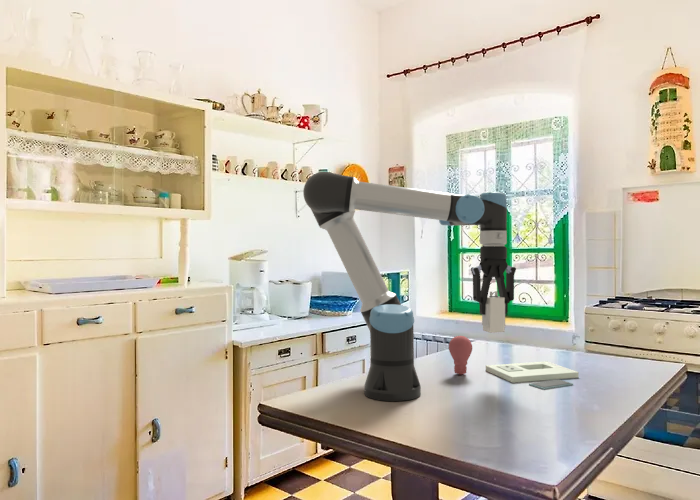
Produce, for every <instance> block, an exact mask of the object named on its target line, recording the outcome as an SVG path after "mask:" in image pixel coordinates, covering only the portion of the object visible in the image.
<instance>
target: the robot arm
mask: <svg viewBox="0 0 700 500" xmlns="http://www.w3.org/2000/svg"><path fill="white" fill-rule="evenodd" d="M303 199H304V201H305V203H306V205H307V206H308V207H309V208H310V210H311V212H312V215H313V216H314V219H315V220H316V223H317V225H318V227H319V228H320V229H322V230H325V231H327V233H328V236H329V238H330V239H331V243H332V244H333V246H334V248H335V251H336V252H337V254H338V257H339V259H340V260H341V262H342V265H343V266H344V269H345V271H346V272H347V275H348V276H349V279H350V281H351V283H352V285H353V288H354V289H355V291H356V293H357V295H358V297H359V300H360V301H361V307H360V310H359V311H360V314H361V316H362V318H363V320H364V321H365V323H366V326H367V327H368V330H369V334H370V335H369V336H370V337H369V338H370V342H369V344H370V366H369V370H368V373H367V376H366V379H365V382H364V386H363V387H364V388H363V389H364V390H363V391H364V395H365V397H367V398H369V399H372V400H375V401H383V402H402V401H411V400H414V399H417V398H419V397H420V396H421V394H422V390H421V389H422V388H421V384H420V380H419V377H418V374H417V371H416V368H415V357H414V356H415V353H414V352H415V348H414V347H415V346H414V344H415V343H414V342H415V341H414V333H415V332H414V324H415V318H414V311H413V309H411V308H410V307H409V306H406V305H402V303H401V302H400V299H399V298H398V296H397V293H395V292H392V291H390V290H389V289H388V287H387V285H386V282H385V280H384V278H383V276H382V275H381V272H380V271H379V270H380V269H378V266H377V263H376V262H375V260H374V258H373V256H372V254H371V252H370V250H369V248H368V246H367V244H366V241H365V239H364V237H363V235H362V233H361V232H360V229H359V227H358V225H357V222H356V221H355V219H354V215H355V213H356V210H357V211H358V210H359V211H364V212H365V211H366V212H372V213H373V212H374V213H381V214H390V215H397V216H406V217H414V218H421V219H428V220H429V219H430V220H437V221H439V223H440V225H442V226H449V227H453V226H479V228H480V229H479V230H480V231H479V233H480V234H479V239H480V241H479V244H480V245H481V246H480V249H479V255H480V256H479V257H480V263H479V265H477V266H475V267H471V268H470V271H471V274H472V299H473V301H474V302H477V303H478V304H479V314H480V315H481V326H482V327H483V326H489V304H487V303H486V301H487V297H488V296H489V293H490V291H489V290H490V285H491V281H492V280H493V278H494V279H495V282H496V285H497V290H498V291H497V292H498V296H499V297H504V298H505V315H507V314H508V311H509V310H508V307H509V305H508V304H509V303H510V302H511V301H514V300H515V273H516V270H517V268H516V266H510V265H508V262H507V259H508V255H507V254H508V251H507V250H508V248H507V246H505V245H507V243H508V241H507V239H508V238H507V237H508V236H507V235H508V234H507V233H508V232H507V224H508V223H507V220H508V218H507V217H508V215H507V214H508V211H507V210H508V206H507V205H508V204H507V195H506V194H505V193H504V192H500V191H490V192H489V191H488V192H482V193H481V194H480V196H477V195H476V194H469V193H468V194H460V193H459V194H457V193H451V192H450V193H449V192H445V191H444V192H442V191H434V190H428V189H427V190H426V189H419V188H412V187H405V186H395V185H389V184H382V183H381V184H380V183H373V182H365V181H359V180H358V179H357V178H356V177H355V176H351V175H350V176H349V175H342V174H338V173H334V172H328V171H319V172H316V173H314V174H313V175H311V176H309V178H308V179H307V180H306V182H305V184H304V186H303ZM481 272H482V274H483V275H482V281H481ZM505 273H506V274H505ZM481 282H482V284H481Z"/></svg>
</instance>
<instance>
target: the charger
mask: <svg viewBox="0 0 700 500" xmlns="http://www.w3.org/2000/svg"><path fill="white" fill-rule="evenodd" d="M486 303H487V304H489V326H483V325H482V331H483V332H487V333H490V334H491V333H493V334H495V333H505V328H506V327H505V326H506V314H505V298H504V297H500V296H499V295H498V291H494V295H493V291H489V295H488V297H487V301H486Z"/></svg>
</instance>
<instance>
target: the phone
mask: <svg viewBox="0 0 700 500" xmlns="http://www.w3.org/2000/svg"><path fill="white" fill-rule="evenodd" d="M528 385H529V386H530V387H534V388H537V389H540V390H544V391H545V390H551V389H556V388H563V387H570V386H571V387H572V386H574V383H572V382H569V381H566V380H563V379H562V380H561V379H552V380H543V381H539V382H538V381H536V382H531V383H528Z"/></svg>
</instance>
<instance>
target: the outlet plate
mask: <svg viewBox="0 0 700 500" xmlns="http://www.w3.org/2000/svg"><path fill="white" fill-rule="evenodd" d="M485 371H486V372H489V373H490V374H492V375H494V376H497V377H499V378H501V379H504V380H505V381H508V382H511V383H513V384H514V383H525V382H538V381H539V382H541V381H550V380H557V379H559V380H561V379H562V380H564V379H574V378H575V379H576V378H579V377H580V375H579V371H577V370H573V369H570V368H568V367H565V366H561V365H559V364H556V363H553V362H550V361H548V360H547V361H546V360H545V361H531V362H530V361H529V362H521V363H520V362H518V363H506V364H503V363H502V364H489V365H485Z"/></svg>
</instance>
